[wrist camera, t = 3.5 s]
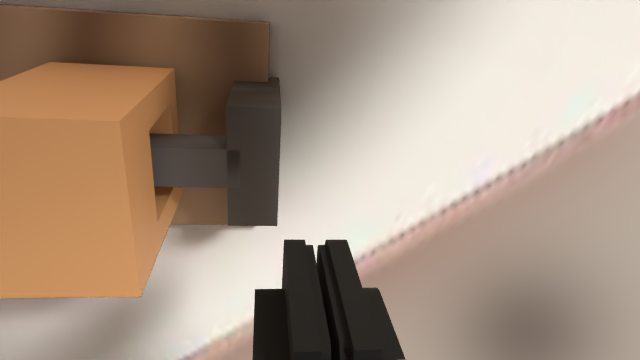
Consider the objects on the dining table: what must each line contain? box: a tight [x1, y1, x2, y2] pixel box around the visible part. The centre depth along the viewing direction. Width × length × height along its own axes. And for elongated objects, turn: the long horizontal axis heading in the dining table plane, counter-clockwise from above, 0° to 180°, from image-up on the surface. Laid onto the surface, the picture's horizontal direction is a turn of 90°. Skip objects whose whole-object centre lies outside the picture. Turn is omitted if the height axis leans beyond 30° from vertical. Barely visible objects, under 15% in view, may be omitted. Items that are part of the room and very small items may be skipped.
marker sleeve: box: [0, 62, 182, 298], centre depth 16 cm, size 5×6×8 cm
